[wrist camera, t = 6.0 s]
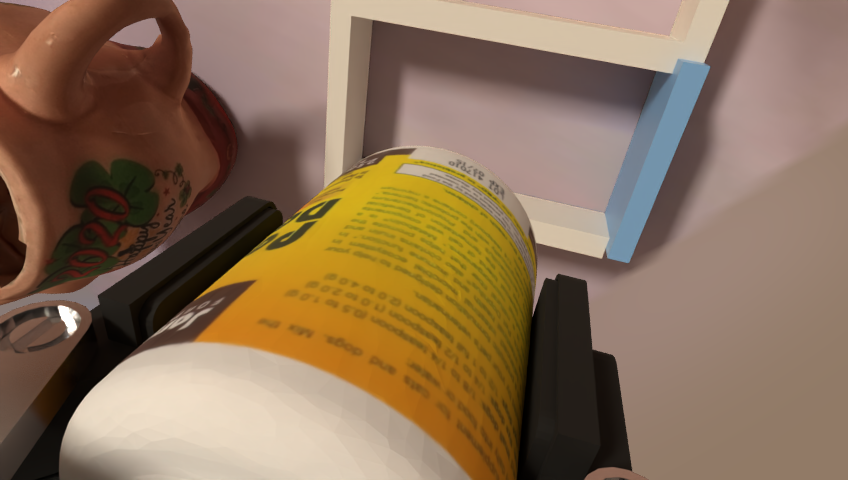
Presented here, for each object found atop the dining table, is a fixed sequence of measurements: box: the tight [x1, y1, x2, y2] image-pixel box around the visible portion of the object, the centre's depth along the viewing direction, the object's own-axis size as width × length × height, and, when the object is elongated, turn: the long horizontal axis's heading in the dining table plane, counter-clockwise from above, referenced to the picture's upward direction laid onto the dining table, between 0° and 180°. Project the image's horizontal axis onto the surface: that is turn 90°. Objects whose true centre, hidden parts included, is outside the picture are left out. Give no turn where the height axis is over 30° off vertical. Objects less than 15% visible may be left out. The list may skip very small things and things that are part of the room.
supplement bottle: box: [59, 146, 537, 480], centre depth 8 cm, size 6×6×10 cm
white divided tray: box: [324, 0, 729, 263], centre depth 21 cm, size 16×19×4 cm
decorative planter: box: [0, 0, 237, 305], centre depth 24 cm, size 20×12×14 cm, turn 138°
